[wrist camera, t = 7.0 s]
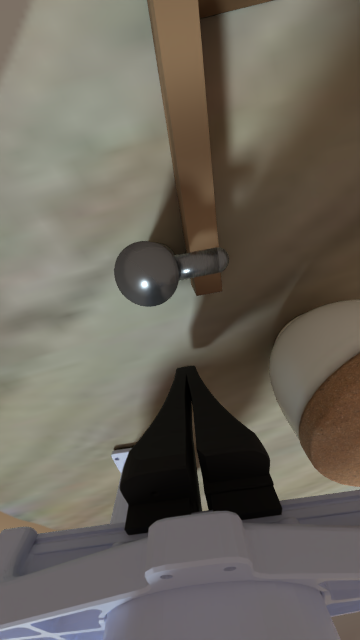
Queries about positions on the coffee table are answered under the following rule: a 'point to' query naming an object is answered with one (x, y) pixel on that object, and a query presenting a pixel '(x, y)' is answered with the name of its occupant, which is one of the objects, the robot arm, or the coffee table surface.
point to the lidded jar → (322, 386)
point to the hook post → (162, 270)
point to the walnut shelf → (189, 117)
